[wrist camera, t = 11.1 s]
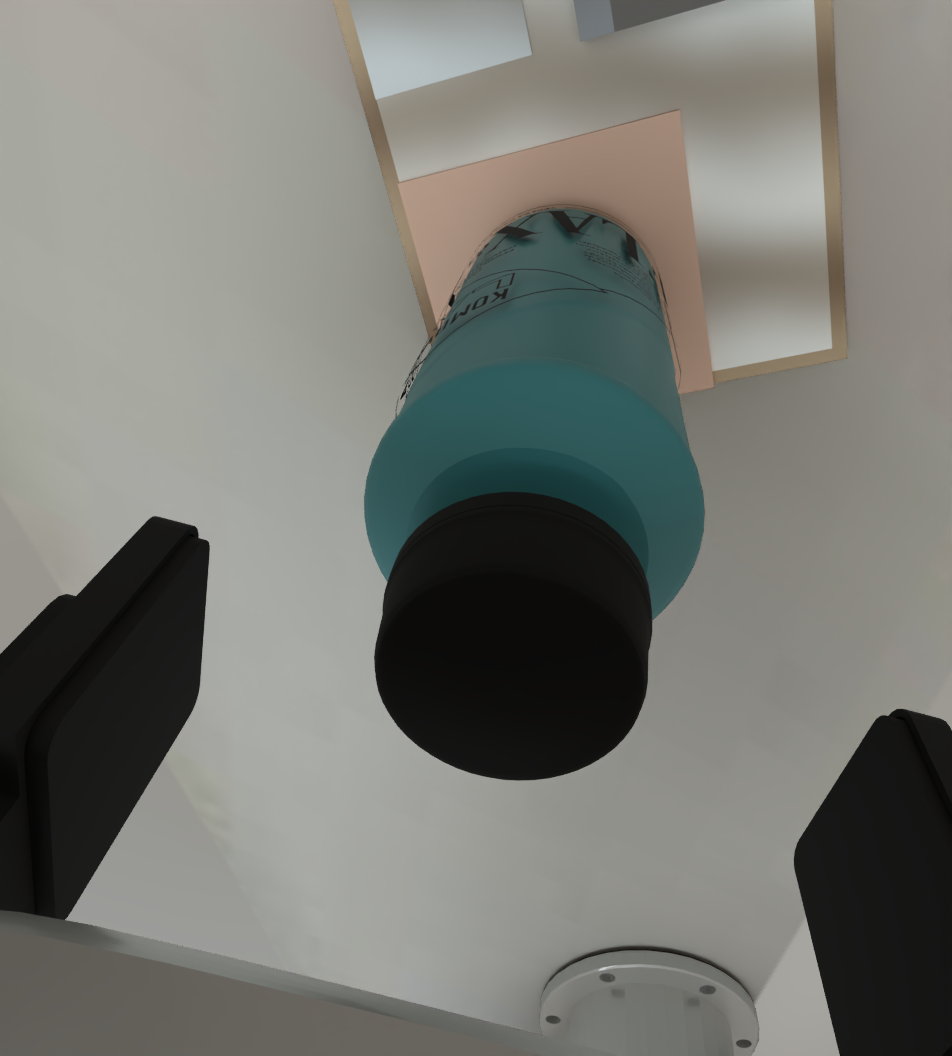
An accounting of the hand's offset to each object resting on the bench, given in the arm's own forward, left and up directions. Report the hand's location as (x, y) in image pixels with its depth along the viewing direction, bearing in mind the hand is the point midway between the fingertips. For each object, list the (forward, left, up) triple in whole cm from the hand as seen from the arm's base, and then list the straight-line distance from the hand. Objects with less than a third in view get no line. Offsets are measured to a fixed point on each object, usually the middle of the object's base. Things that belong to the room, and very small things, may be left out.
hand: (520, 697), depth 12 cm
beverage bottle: (0, 0, -20) cm, 20 cm away
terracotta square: (0, 0, -21) cm, 21 cm away
